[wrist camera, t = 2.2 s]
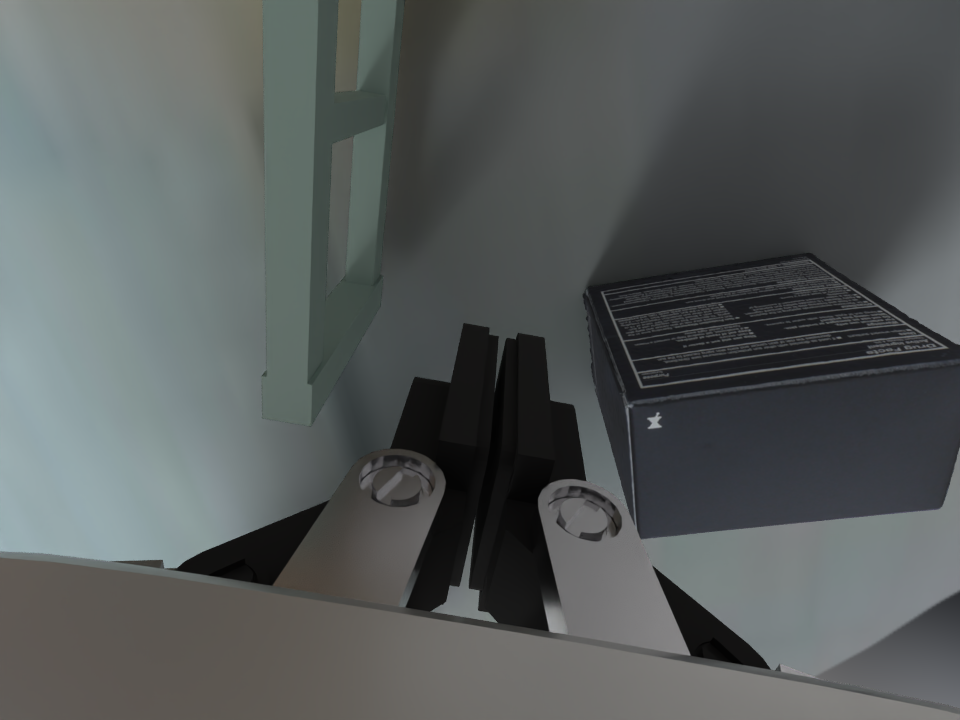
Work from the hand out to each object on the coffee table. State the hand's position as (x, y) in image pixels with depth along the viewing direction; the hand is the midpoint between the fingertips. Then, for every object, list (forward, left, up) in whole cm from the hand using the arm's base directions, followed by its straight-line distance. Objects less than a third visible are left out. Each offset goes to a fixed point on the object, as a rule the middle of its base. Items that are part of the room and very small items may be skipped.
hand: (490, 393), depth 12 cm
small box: (-4, -10, -16) cm, 19 cm away
